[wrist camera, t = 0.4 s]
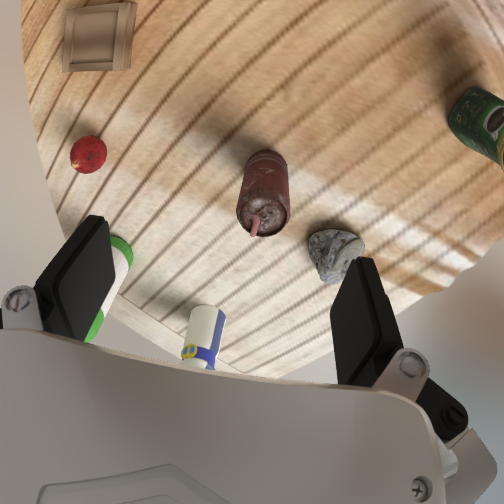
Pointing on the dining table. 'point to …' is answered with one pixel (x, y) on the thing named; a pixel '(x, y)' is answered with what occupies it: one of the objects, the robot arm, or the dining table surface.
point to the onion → (88, 154)
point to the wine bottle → (122, 265)
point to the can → (264, 195)
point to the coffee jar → (480, 123)
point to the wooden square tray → (99, 37)
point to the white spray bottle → (203, 337)
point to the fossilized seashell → (334, 253)
